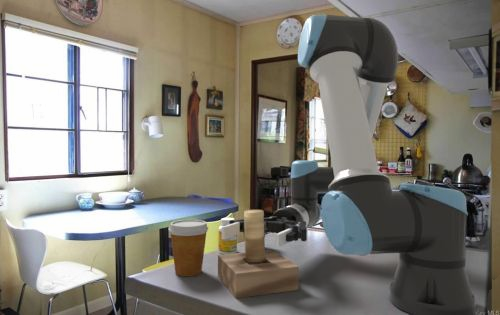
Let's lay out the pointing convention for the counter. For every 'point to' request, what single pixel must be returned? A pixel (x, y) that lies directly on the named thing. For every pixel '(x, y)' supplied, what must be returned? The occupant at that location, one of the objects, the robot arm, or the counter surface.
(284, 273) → the seat block
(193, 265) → the disposable coffee cup
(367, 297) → the counter surface
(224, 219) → the supplement bottle
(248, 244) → the leg
